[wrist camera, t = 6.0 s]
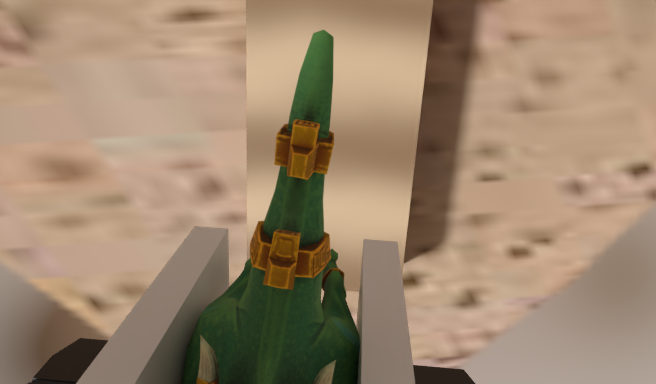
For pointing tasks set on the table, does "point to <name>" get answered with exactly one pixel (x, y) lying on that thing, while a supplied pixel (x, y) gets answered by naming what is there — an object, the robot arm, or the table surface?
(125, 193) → the table surface
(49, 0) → the table surface
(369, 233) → the beige rectangular block
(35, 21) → the table surface
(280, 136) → the figurine
